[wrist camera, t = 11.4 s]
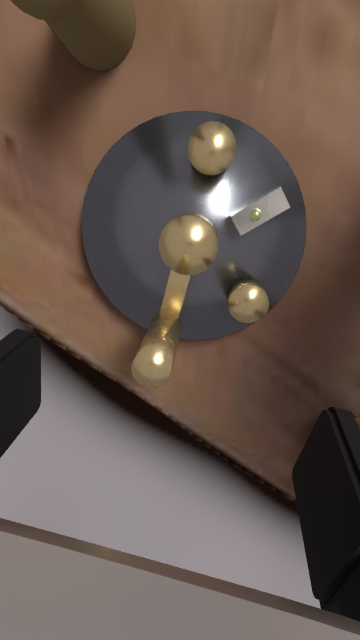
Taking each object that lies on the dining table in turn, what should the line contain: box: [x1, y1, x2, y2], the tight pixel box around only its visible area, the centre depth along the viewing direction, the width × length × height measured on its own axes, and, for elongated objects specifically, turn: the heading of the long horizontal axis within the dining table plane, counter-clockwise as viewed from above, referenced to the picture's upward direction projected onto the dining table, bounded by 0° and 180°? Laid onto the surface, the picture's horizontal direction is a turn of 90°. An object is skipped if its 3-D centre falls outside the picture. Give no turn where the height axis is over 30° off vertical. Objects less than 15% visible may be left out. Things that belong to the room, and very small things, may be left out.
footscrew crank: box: [131, 213, 218, 388], centre depth 27 cm, size 12×5×9 cm, turn 165°
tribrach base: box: [82, 111, 306, 340], centre depth 30 cm, size 20×20×4 cm
